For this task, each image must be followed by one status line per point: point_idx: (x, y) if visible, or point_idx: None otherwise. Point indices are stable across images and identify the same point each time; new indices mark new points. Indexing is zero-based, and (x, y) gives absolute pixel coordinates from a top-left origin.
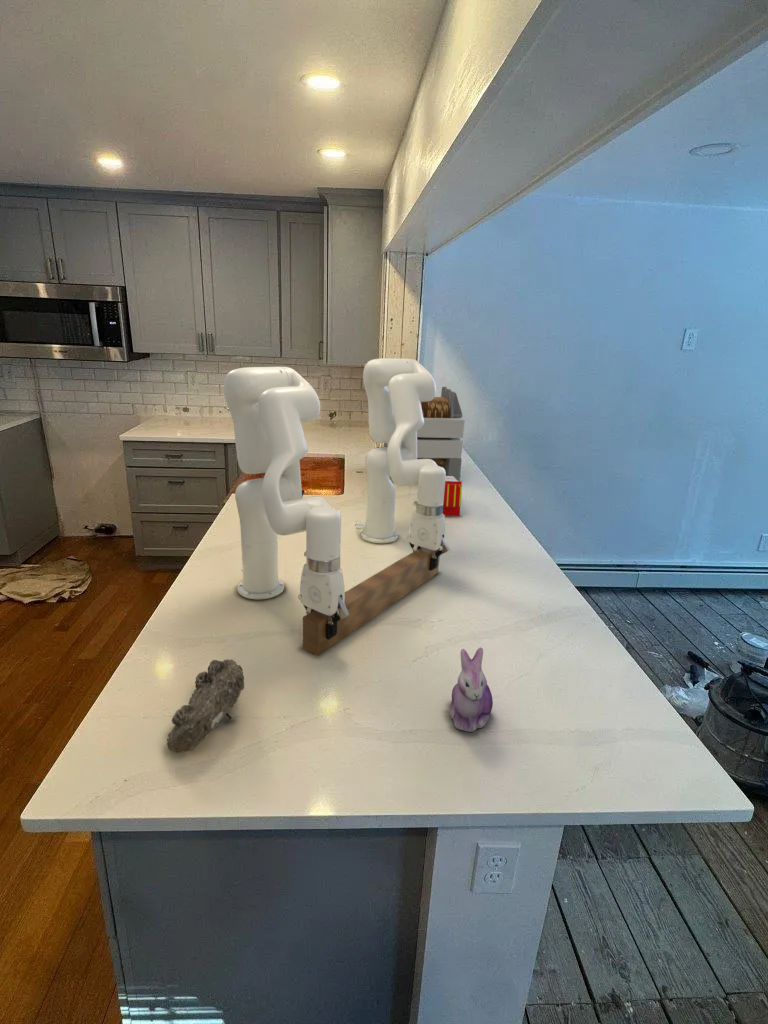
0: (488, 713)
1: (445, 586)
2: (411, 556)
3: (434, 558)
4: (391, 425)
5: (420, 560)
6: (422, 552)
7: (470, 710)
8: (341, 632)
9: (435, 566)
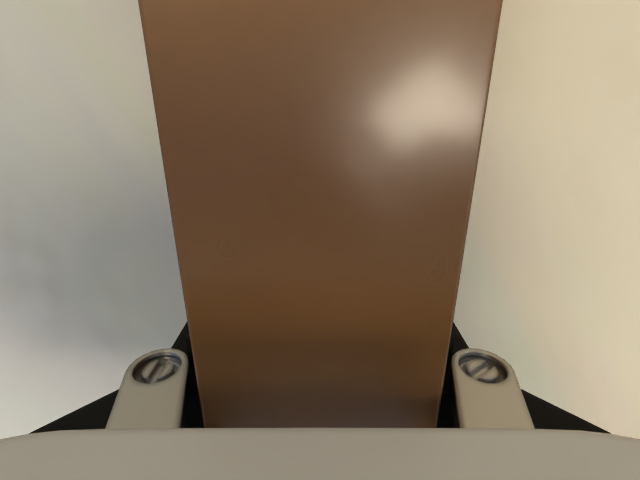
0: None
1: (112, 220)
2: (388, 58)
3: (155, 354)
4: None
5: (149, 45)
6: (315, 348)
7: None
8: None
9: None
